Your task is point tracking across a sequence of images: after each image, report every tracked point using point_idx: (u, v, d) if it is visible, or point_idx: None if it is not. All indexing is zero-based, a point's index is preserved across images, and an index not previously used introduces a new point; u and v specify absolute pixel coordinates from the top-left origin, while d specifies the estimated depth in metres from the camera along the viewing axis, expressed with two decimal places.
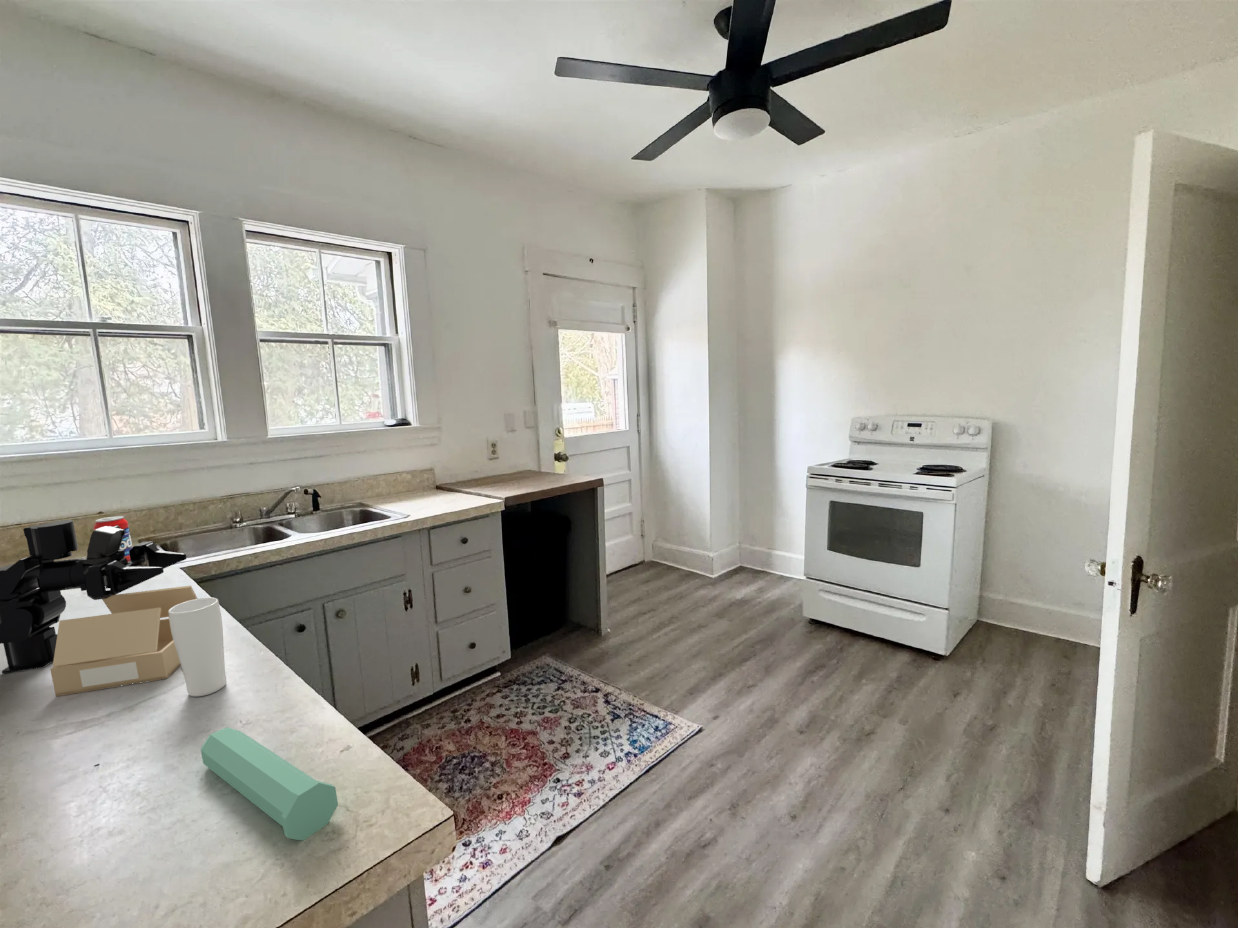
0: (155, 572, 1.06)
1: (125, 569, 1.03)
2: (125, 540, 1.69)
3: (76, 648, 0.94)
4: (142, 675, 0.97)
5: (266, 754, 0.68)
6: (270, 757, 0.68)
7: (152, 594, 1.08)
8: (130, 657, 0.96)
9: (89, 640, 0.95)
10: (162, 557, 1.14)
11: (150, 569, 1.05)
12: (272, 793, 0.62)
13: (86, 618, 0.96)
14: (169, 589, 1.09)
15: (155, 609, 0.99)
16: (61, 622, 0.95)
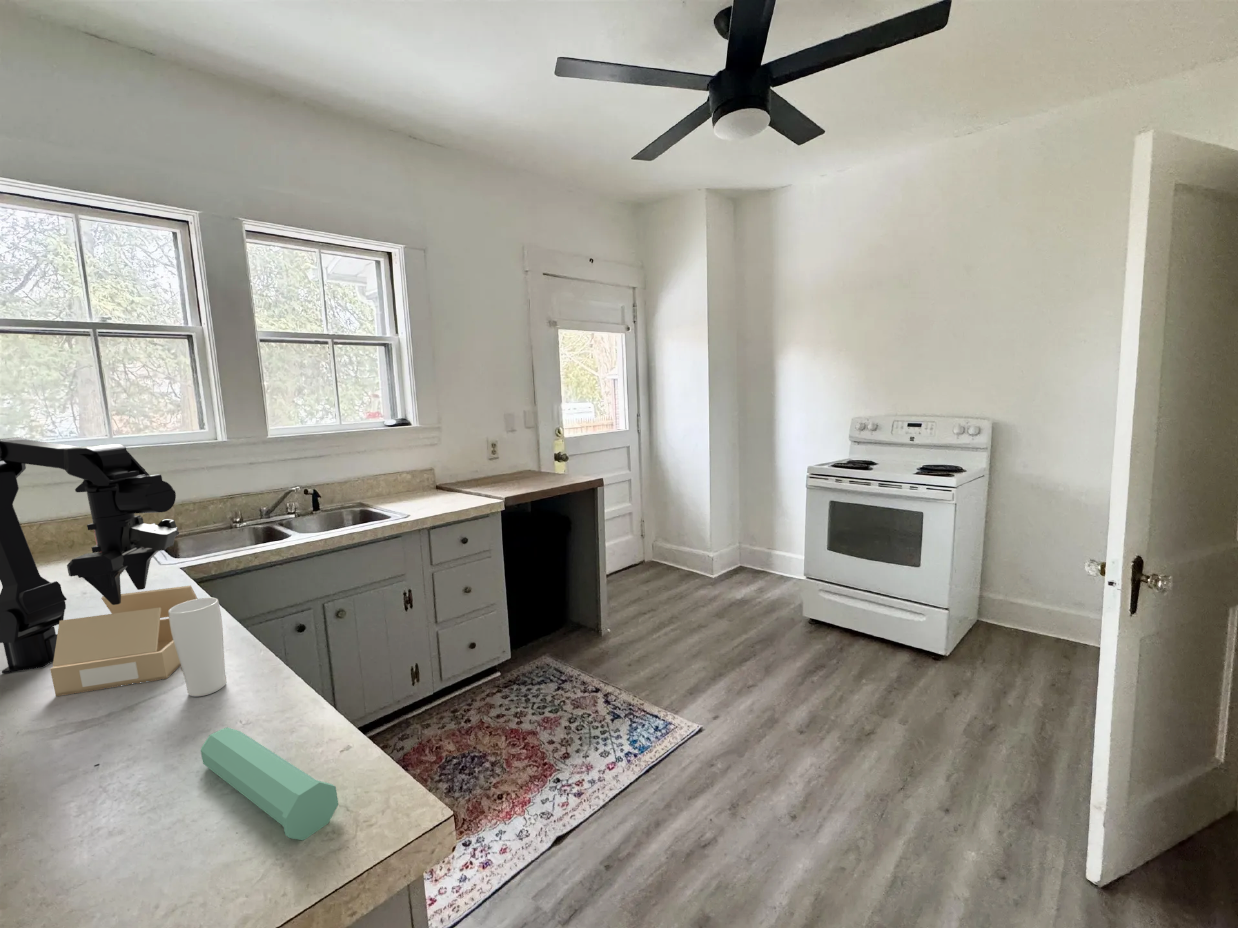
0: (112, 599, 0.98)
1: (114, 579, 0.97)
2: None
3: (76, 648, 0.94)
4: (142, 675, 0.97)
5: (266, 754, 0.68)
6: (270, 757, 0.68)
7: (152, 594, 1.08)
8: (130, 657, 0.96)
9: (89, 640, 0.95)
10: (139, 567, 1.06)
11: (116, 596, 0.98)
12: (272, 793, 0.62)
13: (86, 618, 0.96)
14: (169, 589, 1.09)
15: (155, 609, 0.99)
16: (61, 622, 0.95)
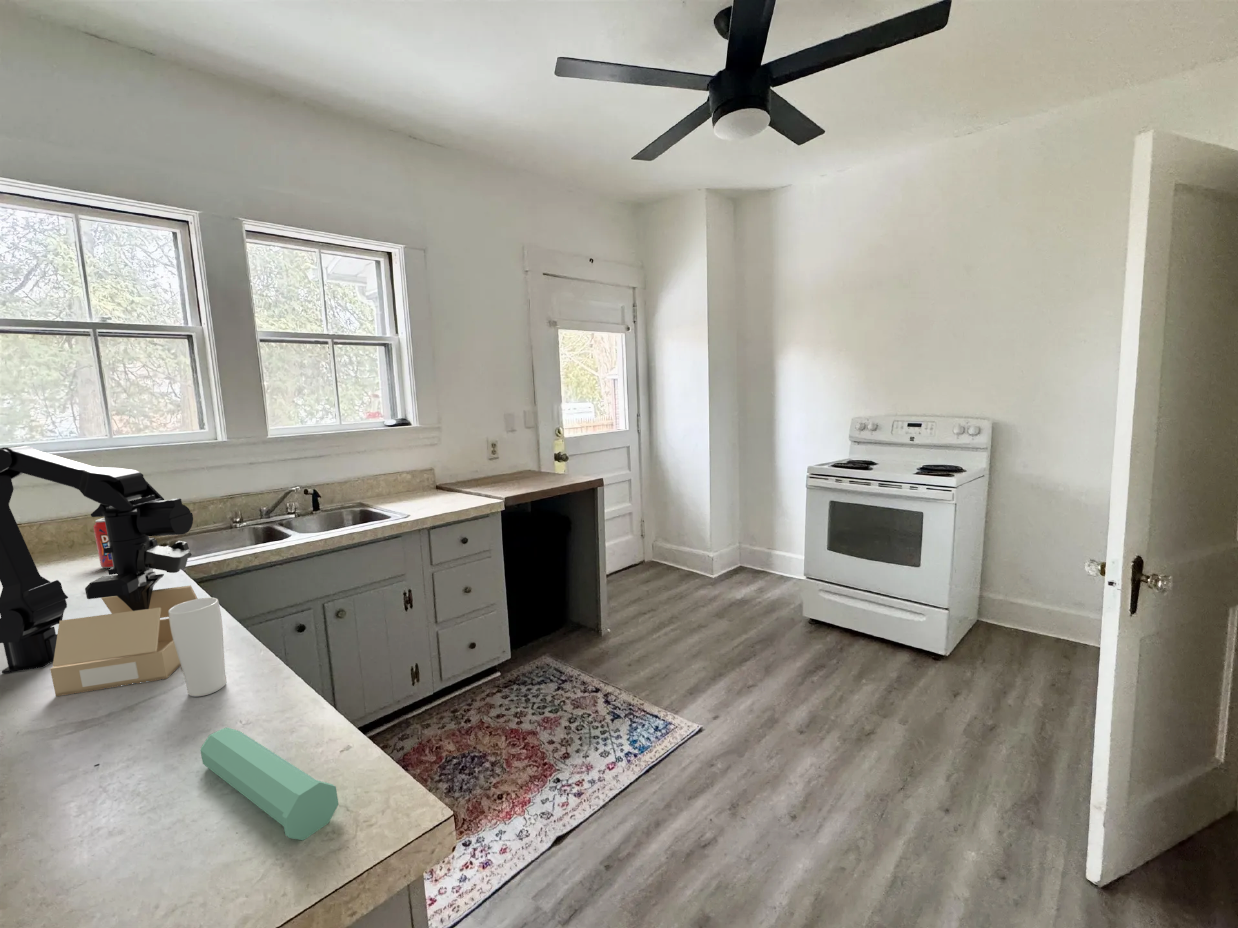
0: None
1: (141, 593, 1.04)
2: None
3: (76, 648, 0.94)
4: (142, 675, 0.97)
5: (266, 754, 0.68)
6: (270, 757, 0.68)
7: (152, 594, 1.08)
8: (130, 657, 0.96)
9: (89, 640, 0.95)
10: None
11: (142, 609, 1.05)
12: (272, 793, 0.62)
13: (86, 618, 0.96)
14: (169, 589, 1.09)
15: (155, 609, 0.99)
16: (61, 622, 0.95)
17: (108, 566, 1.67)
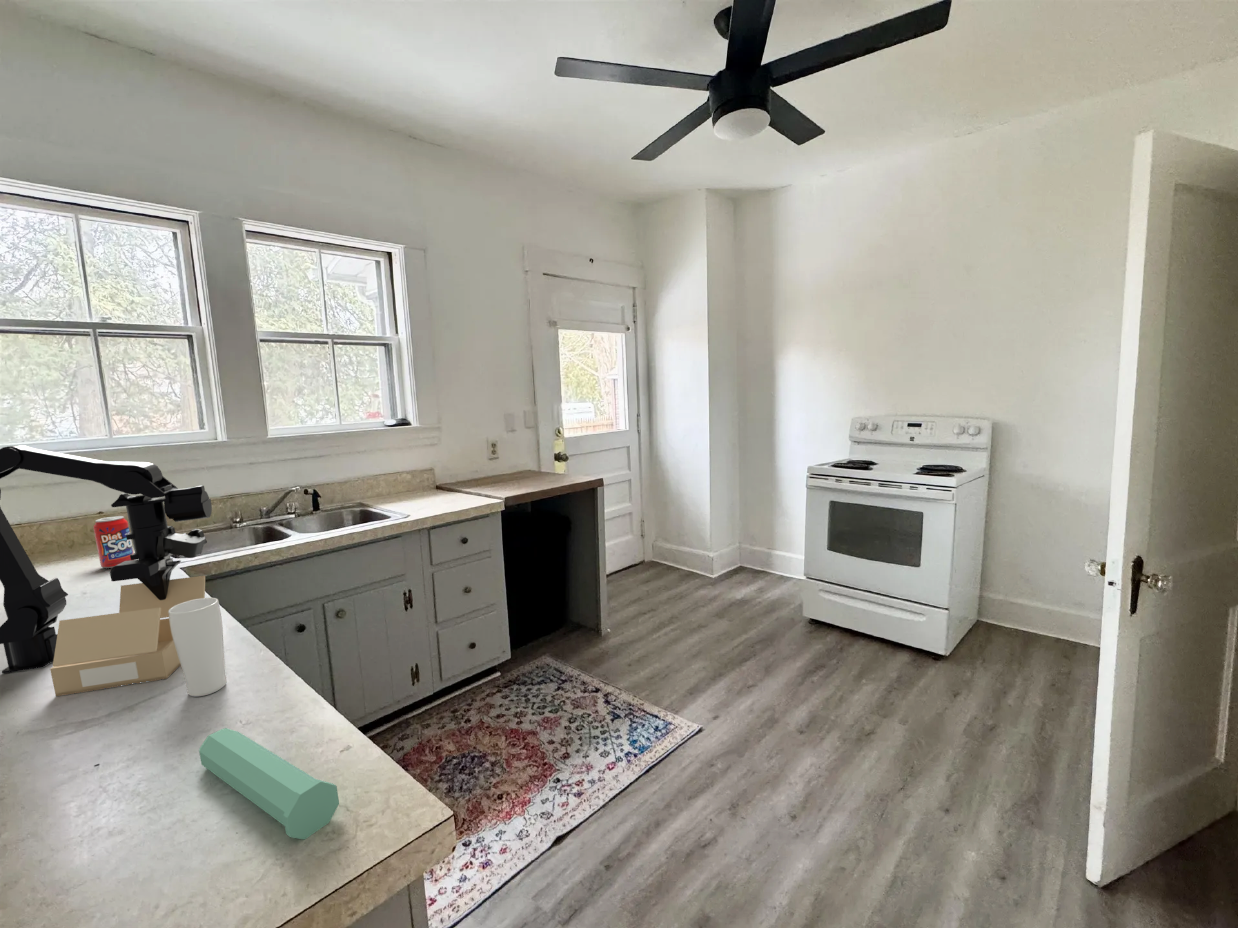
0: (159, 595, 1.12)
1: (161, 577, 1.11)
2: (125, 540, 1.69)
3: (76, 648, 0.94)
4: (142, 675, 0.97)
5: (266, 754, 0.68)
6: (270, 757, 0.68)
7: None
8: (130, 657, 0.96)
9: (89, 640, 0.95)
10: None
11: (162, 592, 1.12)
12: (273, 792, 0.62)
13: (86, 618, 0.96)
14: (184, 578, 1.15)
15: (155, 609, 0.99)
16: (61, 622, 0.95)
17: (108, 566, 1.67)
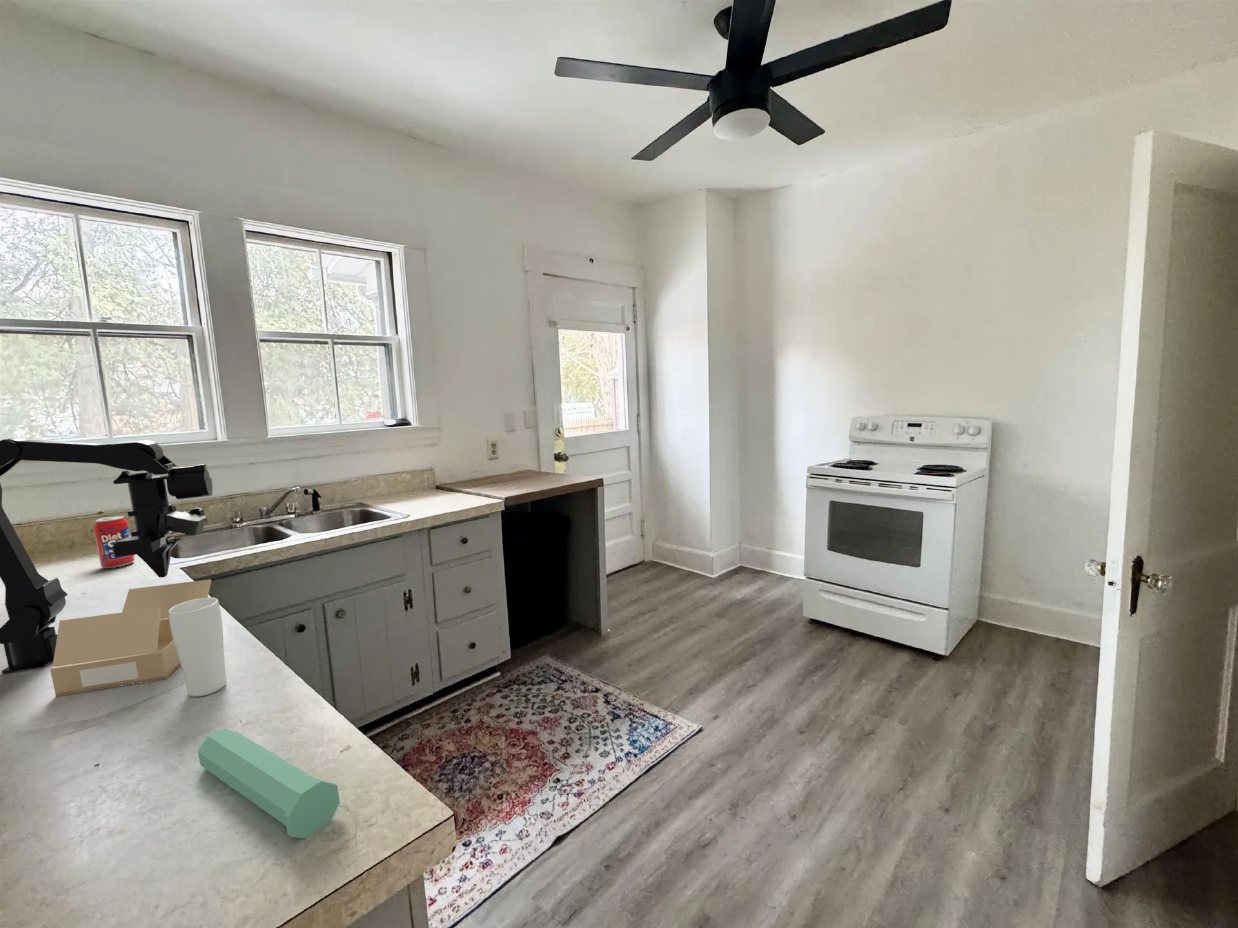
0: (159, 573, 1.13)
1: (162, 555, 1.12)
2: None
3: (76, 648, 0.94)
4: (142, 675, 0.97)
5: (265, 754, 0.68)
6: (270, 757, 0.68)
7: (173, 586, 1.16)
8: (130, 657, 0.96)
9: (89, 640, 0.95)
10: None
11: (162, 569, 1.13)
12: (273, 792, 0.62)
13: (86, 618, 0.96)
14: (191, 582, 1.18)
15: (155, 609, 0.99)
16: (61, 622, 0.95)
17: (108, 566, 1.67)
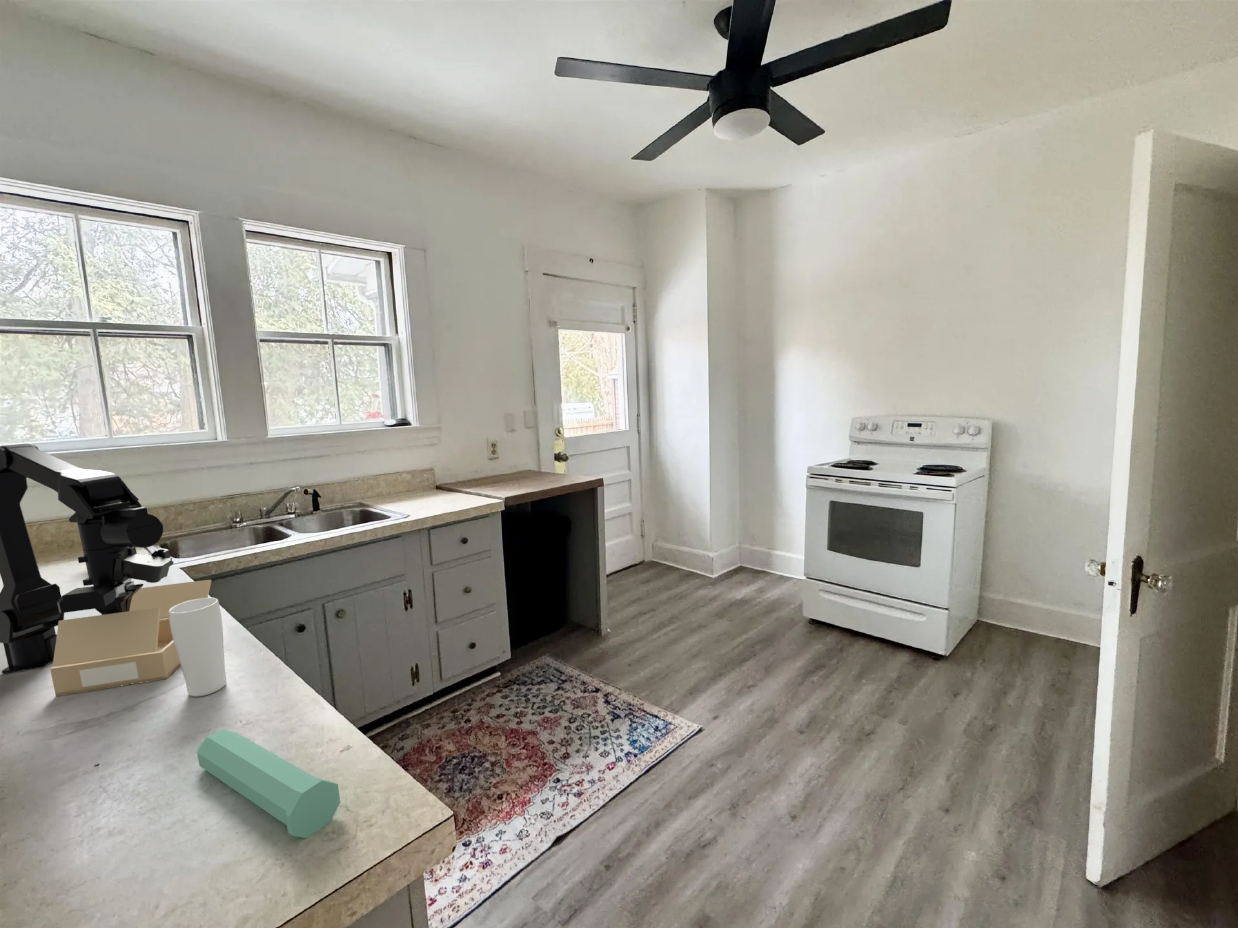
0: None
1: (120, 605, 0.98)
2: None
3: (75, 648, 0.94)
4: (142, 675, 0.97)
5: (265, 754, 0.68)
6: (270, 757, 0.68)
7: (173, 586, 1.16)
8: (130, 657, 0.96)
9: (89, 640, 0.95)
10: None
11: None
12: (274, 792, 0.62)
13: (85, 618, 0.96)
14: (191, 582, 1.18)
15: (154, 609, 0.98)
16: (60, 622, 0.95)
17: None
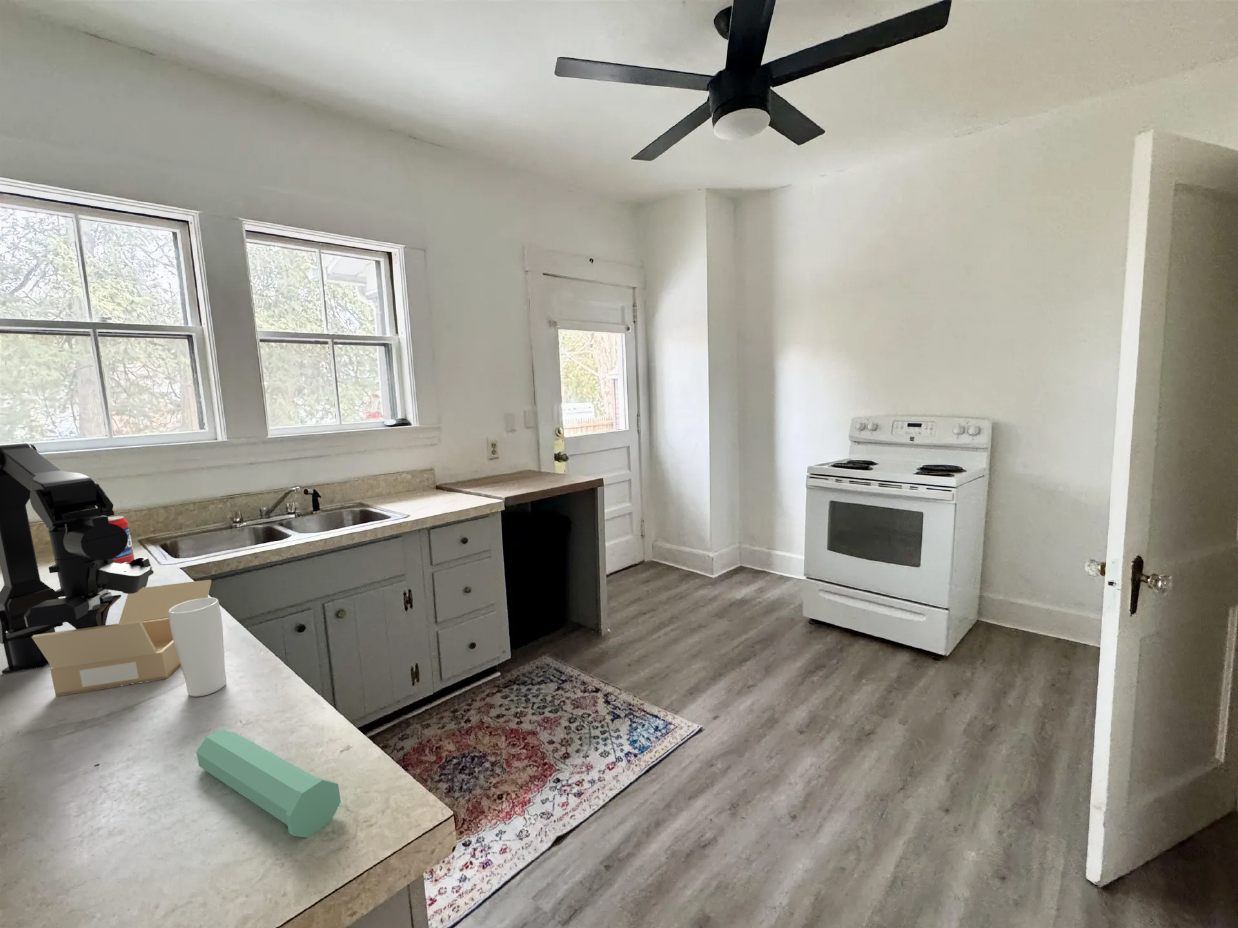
0: None
1: (95, 618, 0.91)
2: None
3: (68, 655, 0.92)
4: (142, 675, 0.97)
5: (265, 754, 0.68)
6: (270, 757, 0.68)
7: (173, 586, 1.16)
8: (130, 657, 0.96)
9: (78, 649, 0.92)
10: None
11: None
12: (274, 792, 0.62)
13: (61, 634, 0.90)
14: (191, 582, 1.18)
15: (135, 624, 0.93)
16: (35, 638, 0.89)
17: None
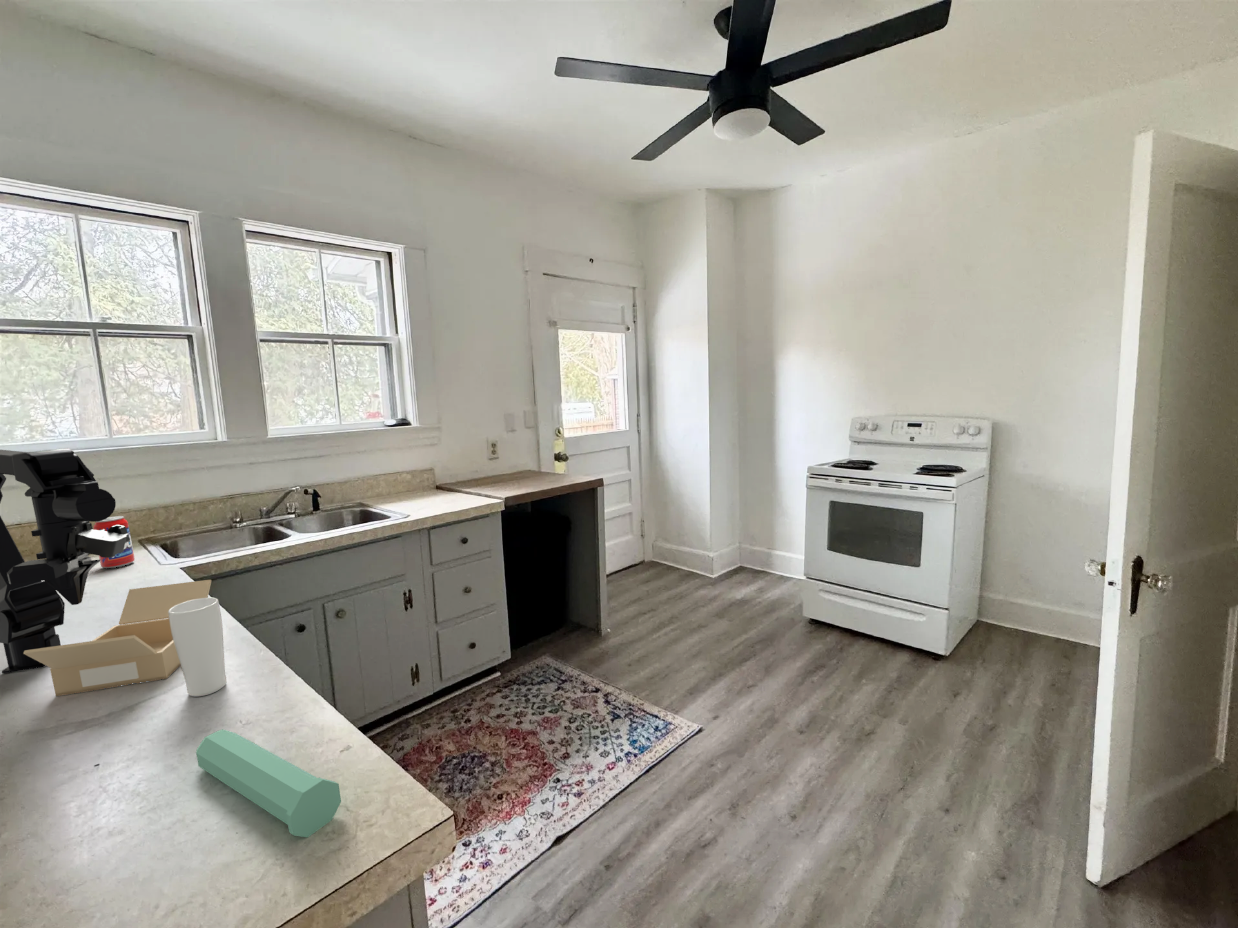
0: (71, 600, 1.00)
1: (73, 579, 0.98)
2: None
3: (66, 661, 0.92)
4: (142, 675, 0.97)
5: (265, 754, 0.68)
6: (270, 757, 0.68)
7: (173, 586, 1.16)
8: None
9: (76, 657, 0.91)
10: None
11: (75, 596, 1.00)
12: (275, 792, 0.63)
13: (54, 649, 0.88)
14: (191, 582, 1.18)
15: (130, 639, 0.91)
16: (27, 653, 0.87)
17: (108, 566, 1.67)
